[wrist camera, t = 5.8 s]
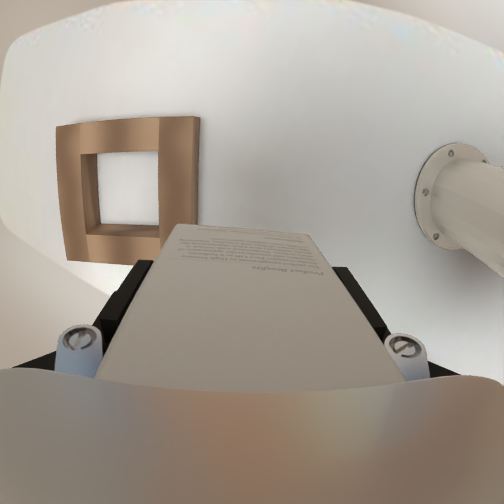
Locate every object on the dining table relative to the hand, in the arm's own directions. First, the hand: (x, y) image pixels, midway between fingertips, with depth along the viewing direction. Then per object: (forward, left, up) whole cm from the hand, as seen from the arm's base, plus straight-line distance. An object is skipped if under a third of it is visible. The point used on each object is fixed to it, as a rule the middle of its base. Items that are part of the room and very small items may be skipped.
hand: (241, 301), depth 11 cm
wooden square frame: (+12, 0, -20) cm, 23 cm away
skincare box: (0, 0, -3) cm, 3 cm away
